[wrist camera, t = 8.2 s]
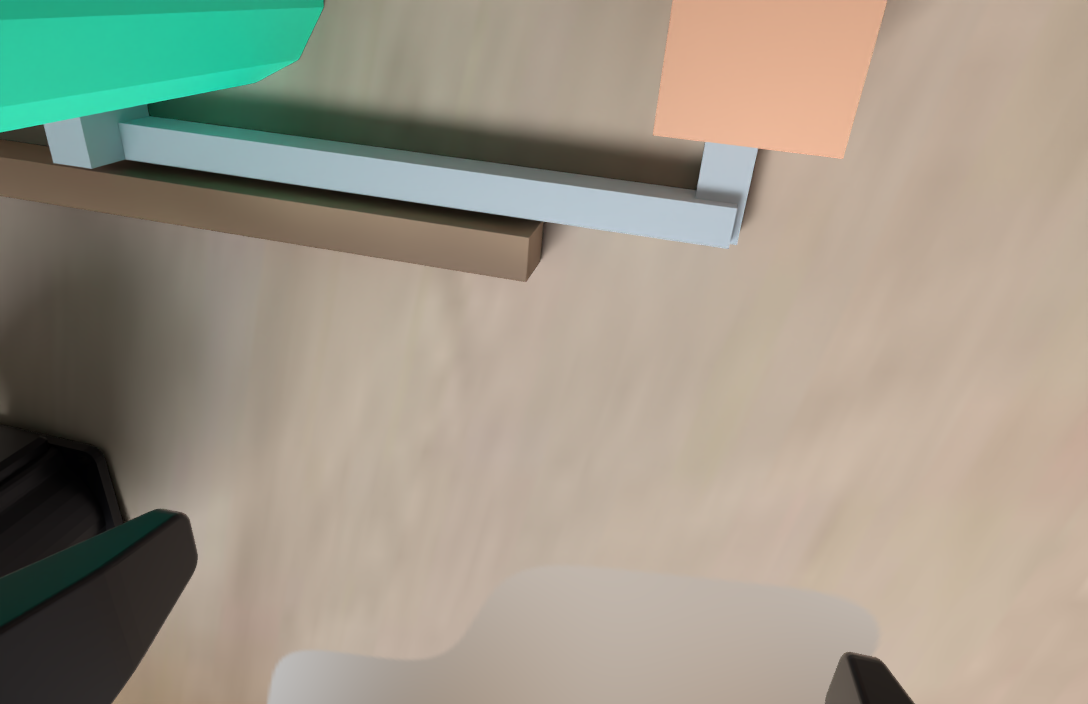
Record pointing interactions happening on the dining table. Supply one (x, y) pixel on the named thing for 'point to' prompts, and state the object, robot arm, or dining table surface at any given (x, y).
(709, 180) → the frame
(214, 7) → the candle
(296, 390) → the dining table surface
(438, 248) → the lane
